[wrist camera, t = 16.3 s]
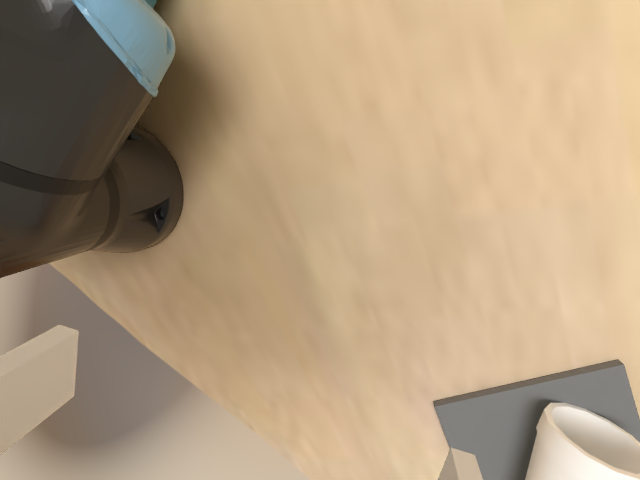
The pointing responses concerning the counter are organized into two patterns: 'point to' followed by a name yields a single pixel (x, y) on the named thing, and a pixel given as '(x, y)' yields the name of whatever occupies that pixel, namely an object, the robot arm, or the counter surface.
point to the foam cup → (581, 447)
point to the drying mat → (531, 414)
